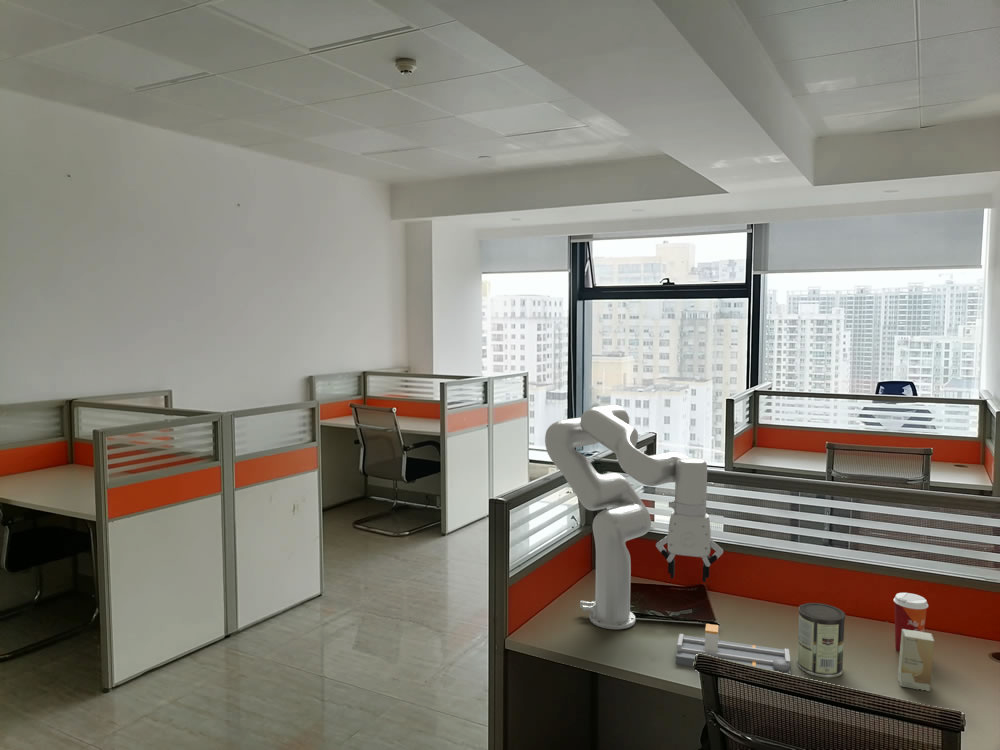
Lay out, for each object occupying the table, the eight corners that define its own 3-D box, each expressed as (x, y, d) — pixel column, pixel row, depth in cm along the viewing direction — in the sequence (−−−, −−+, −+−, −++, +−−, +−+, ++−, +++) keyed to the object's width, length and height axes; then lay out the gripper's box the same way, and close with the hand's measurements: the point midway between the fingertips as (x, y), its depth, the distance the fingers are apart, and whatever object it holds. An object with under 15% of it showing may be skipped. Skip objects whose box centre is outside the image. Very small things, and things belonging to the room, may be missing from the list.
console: (675, 663, 179) (676, 649, 179) (680, 642, 190) (680, 628, 190) (790, 681, 171) (790, 666, 170) (787, 657, 182) (788, 643, 182)
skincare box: (899, 687, 168) (902, 635, 167) (897, 677, 172) (900, 627, 171) (931, 692, 166) (935, 640, 165) (928, 683, 170) (931, 632, 169)
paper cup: (912, 661, 180) (916, 606, 179) (884, 648, 187) (887, 595, 186) (932, 654, 184) (935, 600, 183) (903, 641, 191) (906, 589, 189)
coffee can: (819, 654, 184) (822, 599, 183) (852, 673, 175) (855, 616, 173) (786, 661, 181) (789, 605, 179) (818, 681, 171) (821, 623, 170)
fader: (704, 652, 181) (705, 630, 180) (705, 645, 184) (706, 623, 184) (717, 654, 180) (718, 632, 179) (718, 646, 183) (718, 625, 183)
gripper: (652, 509, 180) (650, 579, 181) (726, 516, 174) (724, 588, 176) (656, 501, 187) (654, 569, 189) (727, 507, 181) (725, 577, 183)
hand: (688, 577), depth 182 cm, fingers open, 7 cm apart
